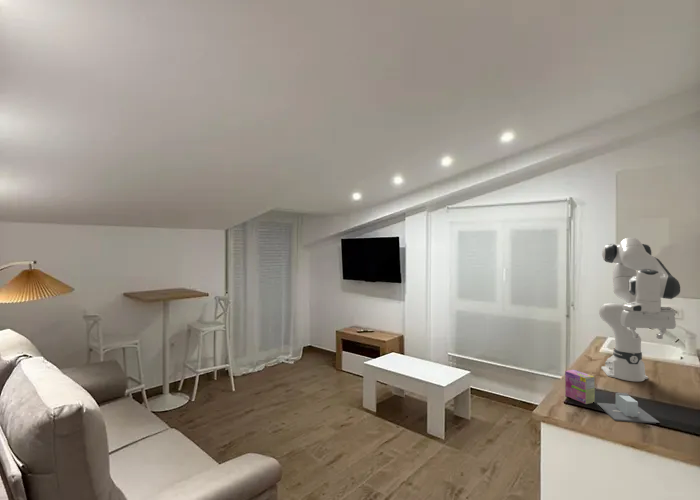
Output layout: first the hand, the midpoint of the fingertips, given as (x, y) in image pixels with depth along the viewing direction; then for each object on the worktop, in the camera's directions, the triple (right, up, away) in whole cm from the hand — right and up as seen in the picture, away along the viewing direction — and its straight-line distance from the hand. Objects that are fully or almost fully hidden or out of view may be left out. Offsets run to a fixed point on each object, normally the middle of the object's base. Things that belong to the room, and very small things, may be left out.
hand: (647, 338), depth 168 cm
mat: (-16, -29, -9) cm, 34 cm away
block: (-16, -29, -9) cm, 34 cm away
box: (-27, -29, +5) cm, 40 cm away
